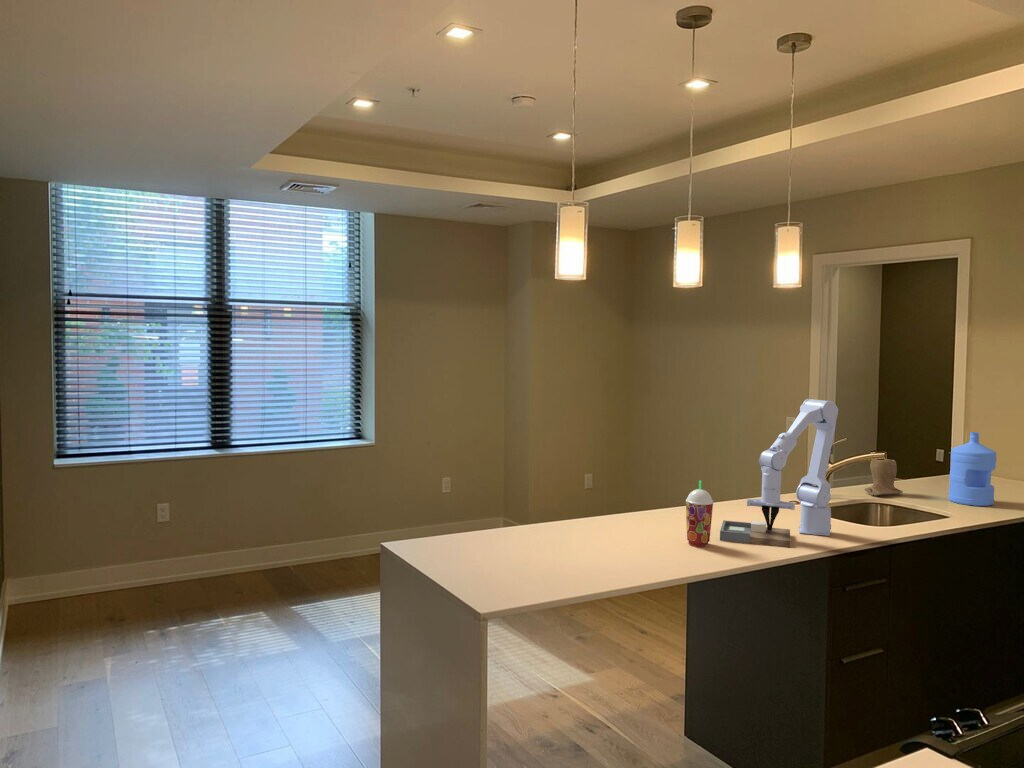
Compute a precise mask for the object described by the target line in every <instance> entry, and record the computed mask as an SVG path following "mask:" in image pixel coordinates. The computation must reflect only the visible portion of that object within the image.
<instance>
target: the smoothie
mask: <svg viewBox="0 0 1024 768" xmlns="http://www.w3.org/2000/svg"><path fill="white" fill-rule="evenodd" d="M713 507H714V500H713V498H712V496H711V494H710V493H709V492H708V491H707V490H705V489H702V480H700V479H699V481H698V488H696V489H694V490H692V491H690V493H689V494H688V496H687V498H686V499H685V515H686V520H685V521H686V540H687V541H688V544H689V545H690V546H692V547H697V548H698V547H701V548H703V547H707V546H708V544H709V542H710V540H711V539H710V538H711V529H712V528H711V527H712V520H713V519H712V518H713V509H714V508H713Z"/></svg>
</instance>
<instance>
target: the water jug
mask: <svg viewBox="0 0 1024 768" xmlns="http://www.w3.org/2000/svg"><path fill="white" fill-rule="evenodd" d="M969 434H970V435H969V442H967V443H964V444H961V445H957V446H955V447H952V448H951V451H950V467H949V468H950V471H949V487H948V500H949V501H950V502H951V503H954V504H958V503H959V505H963V504H964V506H970V505H973V506H972V507H990V505H991V506H992V505H994V504H995V486H994V485H992V483H991V482H992V481H991V479H992V472H993V471H995V470H996V466H997V452H996V451H995V450H993V449H992V448H989V447H988V446H985V445H984V444H982V443H980V432H978V431H970V432H969Z"/></svg>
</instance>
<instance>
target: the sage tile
mask: <svg viewBox="0 0 1024 768" xmlns="http://www.w3.org/2000/svg"><path fill="white" fill-rule="evenodd" d="M729 531H732V532H743V533H744V528H743V527H732V526H730V528H729Z"/></svg>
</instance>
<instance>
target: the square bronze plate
mask: <svg viewBox="0 0 1024 768" xmlns="http://www.w3.org/2000/svg"><path fill="white" fill-rule="evenodd" d="M791 542H792V541H791V529H789V528H778V527H772V531H770V530H767V526H766V533H761V532H750V543H749V544H754V545H763V546H775V547H781V548H782V547H785V548H791Z"/></svg>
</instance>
